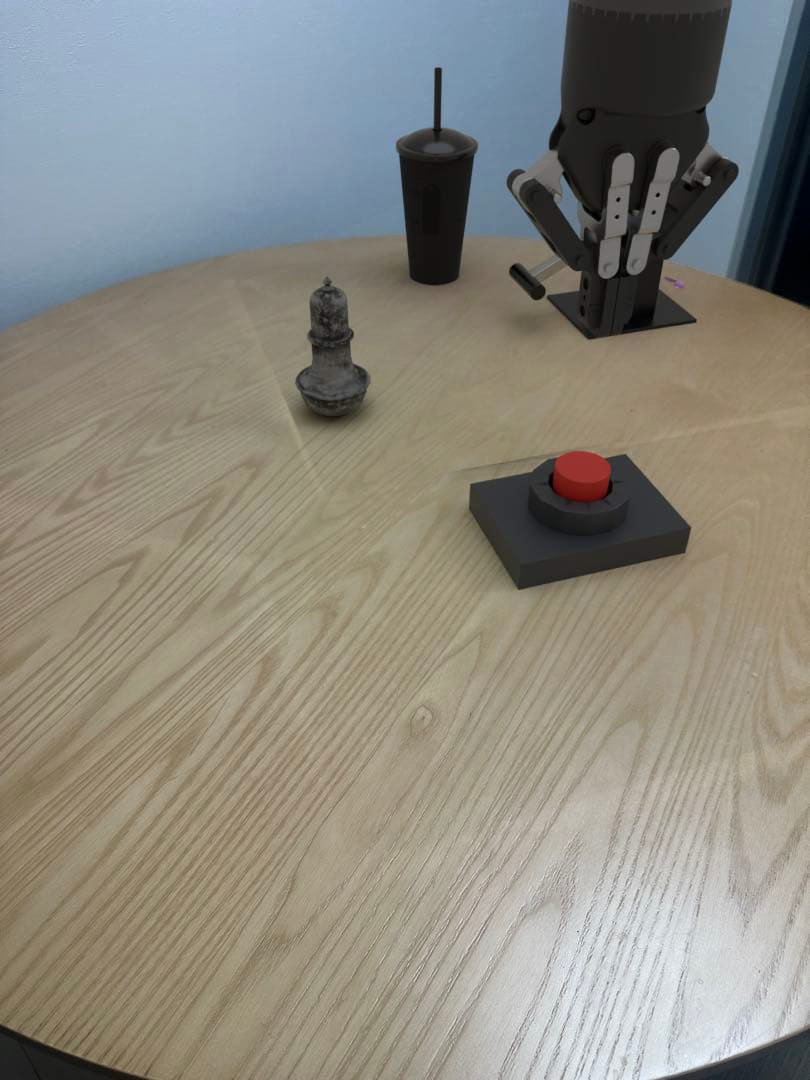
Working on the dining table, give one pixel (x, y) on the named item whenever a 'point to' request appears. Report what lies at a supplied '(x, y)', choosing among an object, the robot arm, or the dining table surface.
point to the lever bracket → (647, 309)
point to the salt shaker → (331, 357)
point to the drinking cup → (435, 195)
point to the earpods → (678, 283)
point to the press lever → (535, 276)
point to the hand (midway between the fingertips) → (602, 330)
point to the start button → (581, 476)
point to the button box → (575, 524)
